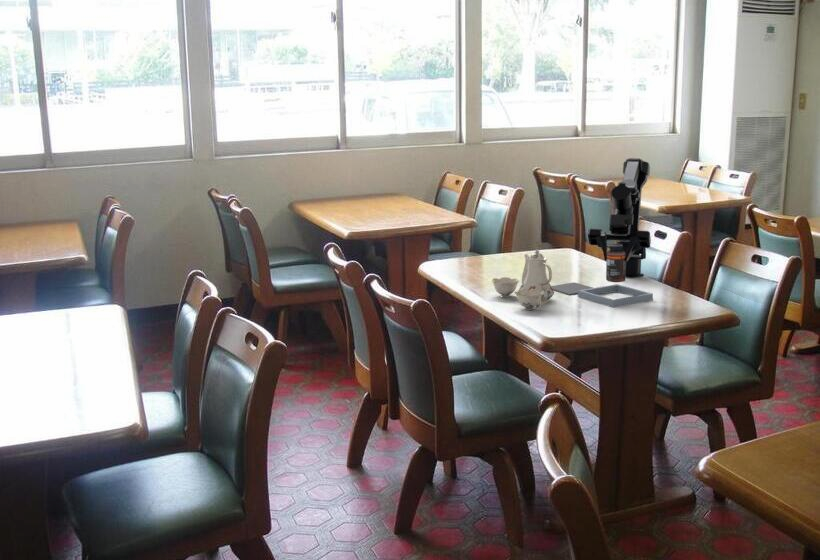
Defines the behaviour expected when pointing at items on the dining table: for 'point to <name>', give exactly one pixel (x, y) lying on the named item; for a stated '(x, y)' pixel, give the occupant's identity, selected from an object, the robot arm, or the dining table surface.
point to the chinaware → (529, 283)
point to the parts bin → (635, 298)
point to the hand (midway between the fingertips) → (615, 260)
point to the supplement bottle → (615, 264)
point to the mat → (570, 288)
